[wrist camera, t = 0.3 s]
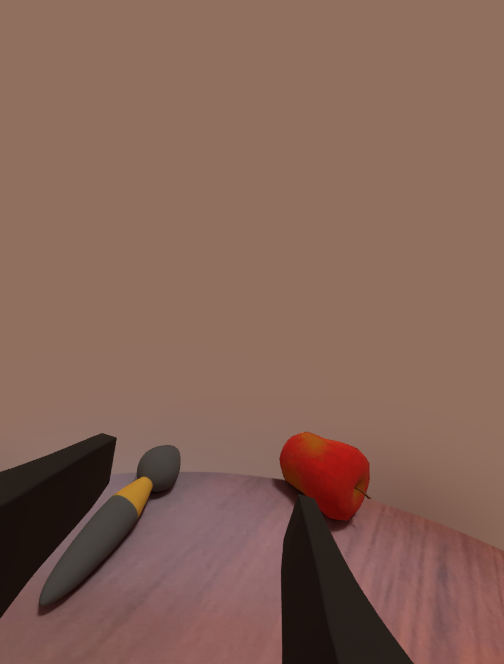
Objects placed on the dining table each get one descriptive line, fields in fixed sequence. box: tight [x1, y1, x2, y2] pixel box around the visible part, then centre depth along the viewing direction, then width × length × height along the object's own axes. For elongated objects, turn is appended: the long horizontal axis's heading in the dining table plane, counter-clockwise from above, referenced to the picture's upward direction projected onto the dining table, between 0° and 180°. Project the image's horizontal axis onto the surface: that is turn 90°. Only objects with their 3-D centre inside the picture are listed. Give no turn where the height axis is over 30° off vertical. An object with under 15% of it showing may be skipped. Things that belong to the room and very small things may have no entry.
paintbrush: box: [39, 445, 180, 606], centre depth 32 cm, size 20×5×5 cm
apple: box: [280, 432, 371, 520], centre depth 38 cm, size 9×8×12 cm
